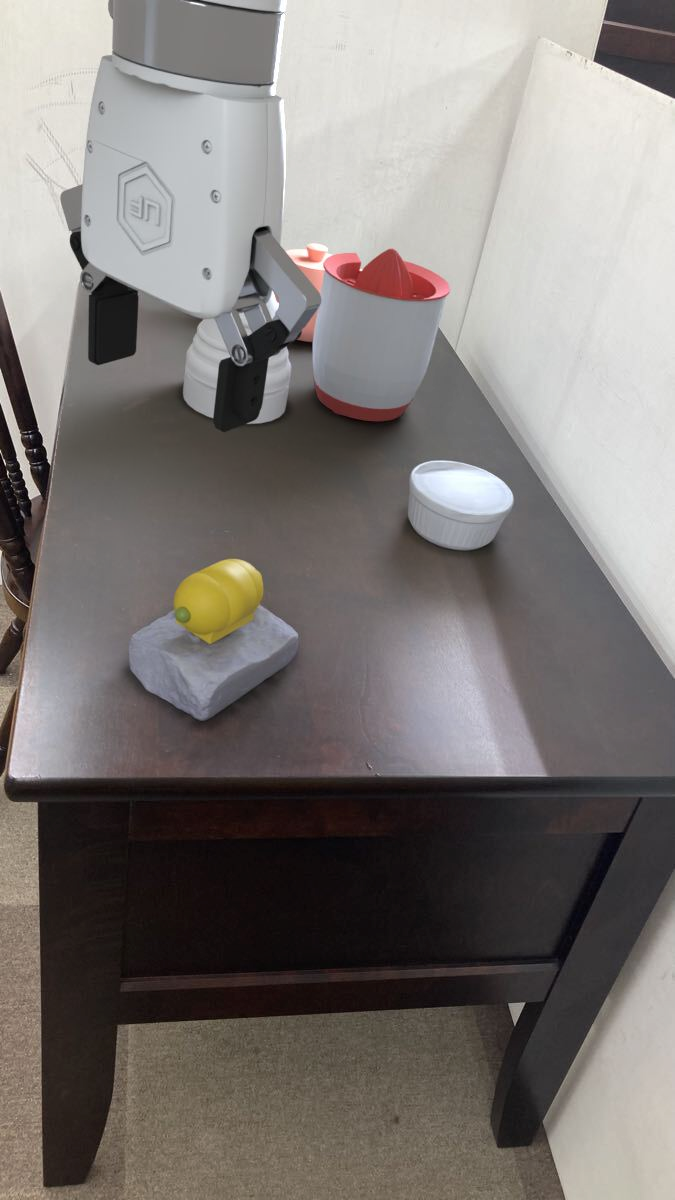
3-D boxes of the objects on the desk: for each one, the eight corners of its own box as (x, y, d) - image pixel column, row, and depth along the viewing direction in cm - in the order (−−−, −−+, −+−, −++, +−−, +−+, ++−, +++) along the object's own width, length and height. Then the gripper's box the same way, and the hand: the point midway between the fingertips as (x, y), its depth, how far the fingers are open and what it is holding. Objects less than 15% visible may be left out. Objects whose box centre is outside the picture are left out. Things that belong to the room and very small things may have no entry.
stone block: (115, 684, 71) (207, 732, 66) (110, 632, 68) (205, 678, 63) (217, 626, 79) (306, 665, 74) (216, 578, 77) (307, 615, 72)
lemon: (197, 659, 65) (206, 605, 63) (149, 628, 67) (157, 575, 65) (276, 613, 73) (287, 564, 70) (231, 586, 75) (241, 537, 72)
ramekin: (443, 490, 102) (455, 450, 99) (520, 539, 97) (535, 497, 94) (378, 516, 95) (388, 473, 92) (456, 570, 90) (470, 526, 87)
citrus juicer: (404, 379, 126) (439, 234, 114) (428, 437, 113) (470, 279, 101) (295, 366, 123) (319, 215, 111) (306, 424, 110) (335, 259, 98)
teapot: (228, 339, 127) (238, 251, 119) (224, 301, 138) (232, 218, 131) (378, 356, 131) (396, 272, 124) (361, 318, 143) (376, 240, 136)
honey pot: (218, 368, 118) (233, 227, 107) (303, 400, 115) (327, 259, 104) (162, 398, 108) (171, 246, 98) (253, 434, 105) (273, 282, 94)
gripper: (4, -3, 41) (17, 349, 51) (294, 90, 35) (243, 473, 45) (125, 8, 47) (115, 325, 57) (397, 91, 40) (330, 433, 50)
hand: (171, 390), depth 51 cm, fingers open, 9 cm apart
